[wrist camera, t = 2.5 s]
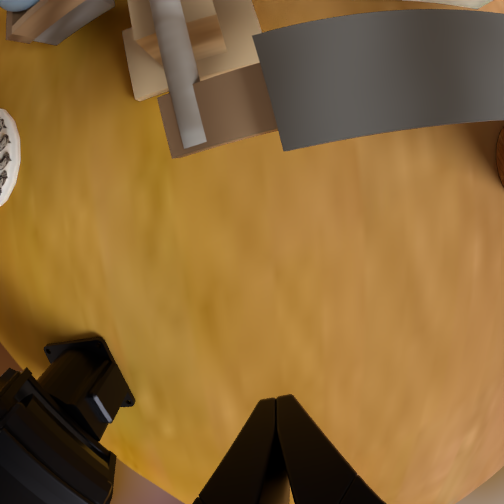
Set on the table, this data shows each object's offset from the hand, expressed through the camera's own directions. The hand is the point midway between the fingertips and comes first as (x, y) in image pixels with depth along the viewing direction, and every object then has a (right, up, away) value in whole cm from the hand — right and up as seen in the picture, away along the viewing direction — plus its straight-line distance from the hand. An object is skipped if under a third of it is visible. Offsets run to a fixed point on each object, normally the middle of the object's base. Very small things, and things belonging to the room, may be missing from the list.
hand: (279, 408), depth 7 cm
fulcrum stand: (-5, +20, +7) cm, 22 cm away
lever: (-2, +17, +4) cm, 18 cm away
